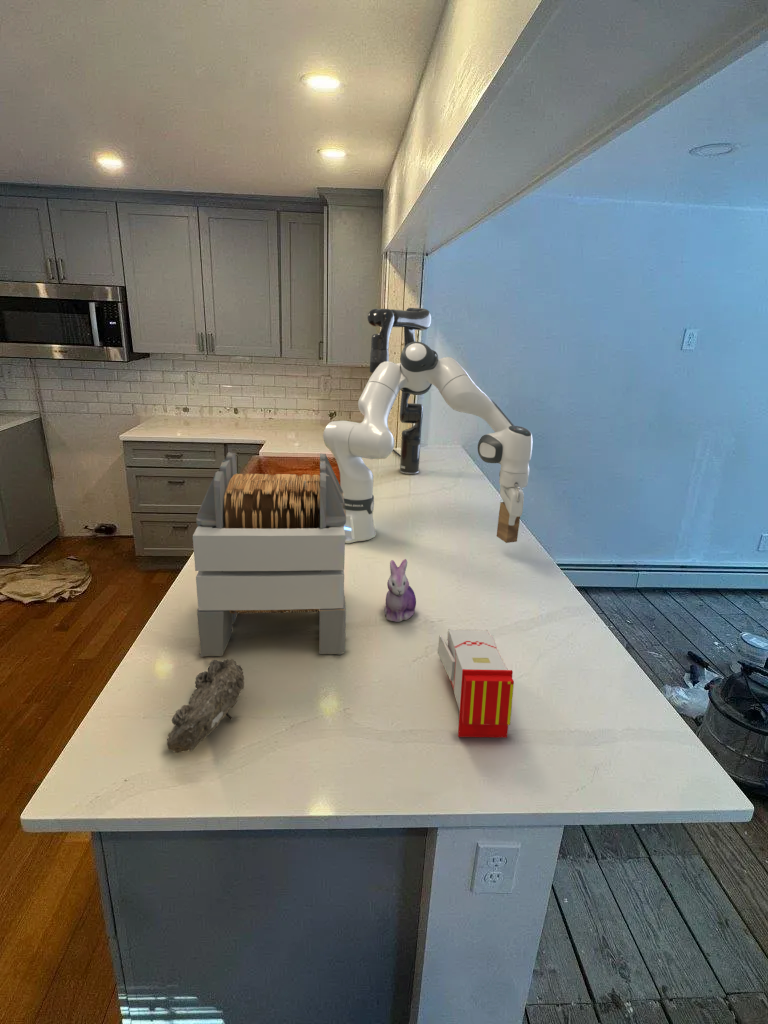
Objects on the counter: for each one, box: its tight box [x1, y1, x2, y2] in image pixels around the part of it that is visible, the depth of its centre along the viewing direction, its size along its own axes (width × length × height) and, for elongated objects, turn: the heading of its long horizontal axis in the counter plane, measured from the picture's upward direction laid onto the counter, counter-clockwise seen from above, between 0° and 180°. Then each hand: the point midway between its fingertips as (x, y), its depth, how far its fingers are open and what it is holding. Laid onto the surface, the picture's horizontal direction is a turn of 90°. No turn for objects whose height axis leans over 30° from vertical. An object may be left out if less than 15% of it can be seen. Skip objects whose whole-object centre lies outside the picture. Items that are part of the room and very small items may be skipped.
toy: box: [437, 628, 515, 738], centre depth 117 cm, size 12×13×30 cm
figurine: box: [384, 558, 417, 623], centre depth 145 cm, size 9×10×15 cm
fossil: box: [166, 658, 245, 754], centre depth 106 cm, size 22×10×15 cm
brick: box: [496, 501, 521, 544], centre depth 183 cm, size 4×6×12 cm
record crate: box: [192, 452, 347, 658], centre depth 136 cm, size 34×33×41 cm
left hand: (508, 519), depth 182 cm, fingers closed on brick, 7 cm apart
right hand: (377, 400), depth 235 cm, fingers open, 8 cm apart
